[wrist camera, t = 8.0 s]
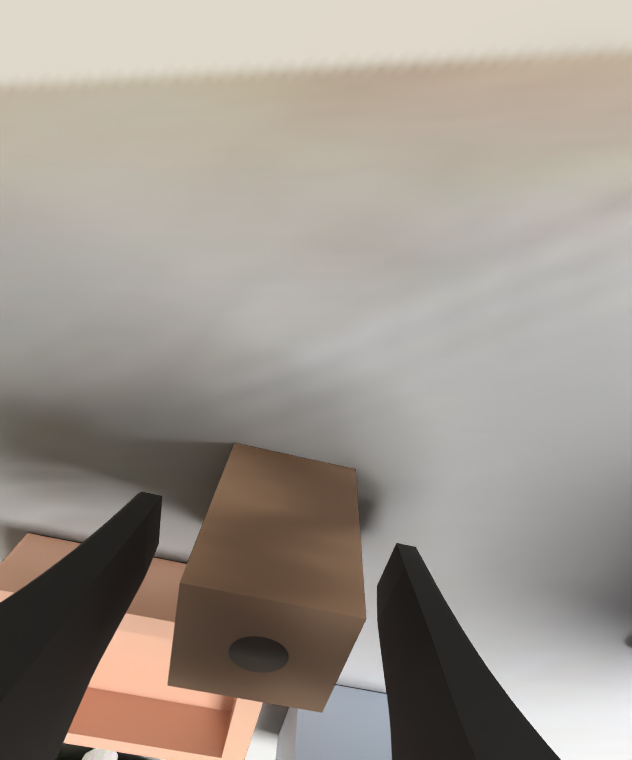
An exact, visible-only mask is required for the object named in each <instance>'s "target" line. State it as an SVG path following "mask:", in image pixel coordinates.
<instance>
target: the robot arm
mask: <svg viewBox="0 0 632 760" xmlns="http://www.w3.org/2000/svg"><path fill="white" fill-rule="evenodd" d="M161 505H162V496H160V495H155V494H150V493H145V492H140V493H138V494H137V495H136V496H135V497H134V498H133V499H132V500H131V501H130V502H129V503H127V504H126V505H125V506H124V507H123V508H122V509H121V510H120V511H119V512H118V513H117V514H115V515H114V516H113V517H112V518H111V519H110V520H109V521H107V522H106V523H105V524H104V525H103V526H102V527H101V528H99V529H98V530H97V531H96V532H95V533H93V534H92V535H91V536H90V537H89V538H87V539H86V540H85V541H84V542H83V543H81V544H80V545H79V546H78V547H76V548H75V549H74V550H73V551H71V552H70V553H69V554H67V555H66V556H65V557H63V558H62V559H61V560H60V561H58V562H57V563H56V564H54V565H53V566H52V567H50V568H49V569H48V570H46V571H45V572H44V573H42V574H41V575H39V576H38V577H37V578H35V579H34V580H32V581H31V582H30V583H28V584H27V585H25V586H24V587H22V588H21V589H20V590H18V591H17V592H15V593H14V594H12V595H11V596H9V597H8V598H6V599H5V600H3V601H2V602H0V760H56V758H57V756H58V754H59V751H60V749H61V747H62V744H63V742H64V740H65V737H66V735H67V733H68V730H69V728H70V726H71V723H72V721H73V719H74V717H75V714H76V712H77V710H78V708H79V705H80V703H81V701H82V699H83V696H84V694H85V692H86V690H87V687H88V685H89V683H90V680H91V678H92V676H93V674H94V672H95V670H96V668H97V666H98V664H99V662H100V660H101V658H102V656H103V654H104V653H105V651H106V649H107V647H108V645H109V643H110V642H111V640H112V638H113V636H114V634H115V632H116V630H117V629H118V627H119V625H120V623H121V621H122V619H123V618H124V616H125V614H126V612H127V610H128V608H129V607H130V605H131V603H132V601H133V599H134V597H135V595H136V593H137V592H138V590H139V588H140V586H141V584H142V582H143V580H144V578H145V576H146V574H147V571H148V569H149V566H150V564H151V562H152V559H153V557H154V554H155V552H156V549H157V547H158V544H159V532H160V519H161ZM377 620H378V630H379V639H380V647H381V655H382V662H383V670H384V678H385V685H386V693H387V701H388V709H389V719H390V731H391V752H392V760H560V758H559V757H558V756H557V755H556V754H555V753H554V751H553V750H552V749H551V748H550V747H549V746H548V745H547V743H546V742H545V741H544V740H543V738H542V737H541V736H540V735H539V734H538V732H537V731H536V730H535V729H534V728H533V726H532V725H531V724H530V723H529V722H528V720H527V719H526V718H525V717H524V715H523V714H522V713H521V712H520V710H519V709H518V708H517V707H516V705H515V704H514V703H513V701H512V700H511V699H510V698H509V696H508V695H507V694H506V692H505V691H504V689H503V688H502V687H501V685H500V684H499V683H498V681H497V680H496V679H495V677H494V676H493V675H492V673H491V672H490V670H489V669H488V668H487V666H486V665H485V663H484V662H483V660H482V659H481V657H480V656H479V654H478V653H477V651H476V650H475V648H474V647H473V645H472V643H471V642H470V640H469V639H468V637H467V636H466V634H465V632H464V631H463V629H462V628H461V626H460V624H459V623H458V621H457V619H456V618H455V616H454V614H453V613H452V611H451V609H450V608H449V606H448V604H447V603H446V601H445V599H444V597H443V596H442V594H441V592H440V590H439V588H438V587H437V585H436V583H435V581H434V579H433V578H432V576H431V574H430V572H429V570H428V568H427V567H426V565H425V563H424V561H423V559H422V557H421V555H420V554H419V552H418V550H417V548H416V547H413V546H408V545H403V544H399V543H396V545H395V548H394V550H393V552H392V554H391V556H390V559H389V561H388V563H387V565H386V567H385V570H384V572H383V574H382V576H381V578H380V581H379V583H378V585H377Z"/></svg>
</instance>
